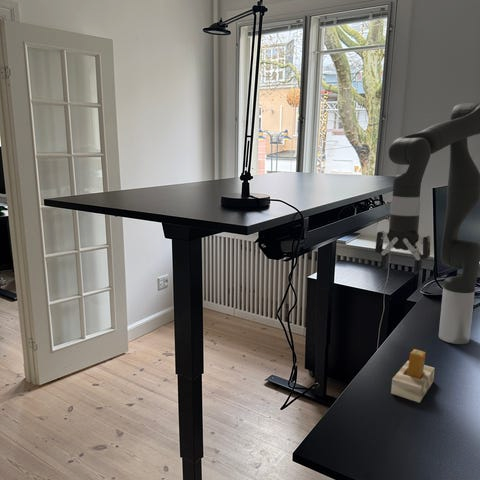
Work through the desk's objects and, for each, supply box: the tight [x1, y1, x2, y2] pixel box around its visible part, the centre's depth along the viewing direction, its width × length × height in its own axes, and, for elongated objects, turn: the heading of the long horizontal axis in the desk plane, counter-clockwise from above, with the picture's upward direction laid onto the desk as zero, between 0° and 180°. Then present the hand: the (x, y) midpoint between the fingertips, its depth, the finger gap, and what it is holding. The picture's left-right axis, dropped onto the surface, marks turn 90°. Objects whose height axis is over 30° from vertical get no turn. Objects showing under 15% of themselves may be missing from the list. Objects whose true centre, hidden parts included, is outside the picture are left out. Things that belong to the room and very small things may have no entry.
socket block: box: [390, 360, 435, 404], centre depth 115 cm, size 13×7×4 cm, turn 143°
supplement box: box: [407, 348, 427, 379], centre depth 114 cm, size 3×3×10 cm
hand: (400, 270), depth 123 cm, fingers open, 8 cm apart
